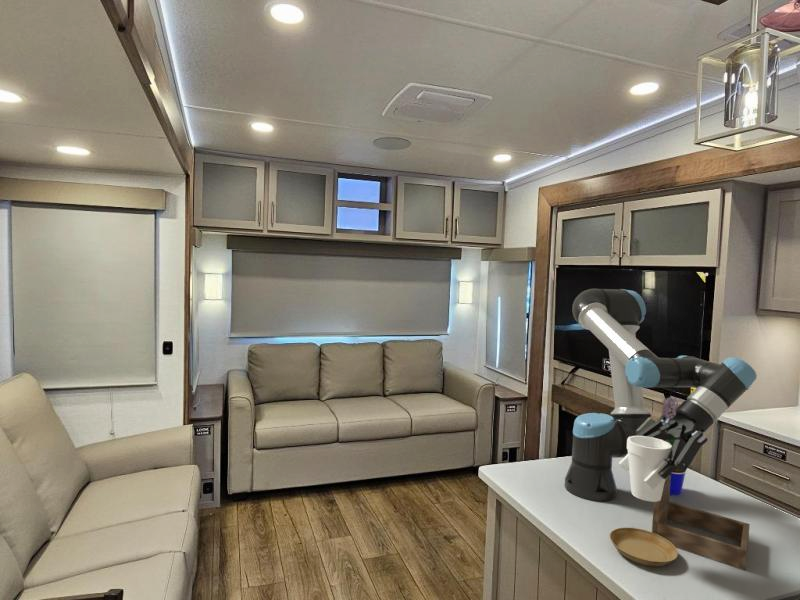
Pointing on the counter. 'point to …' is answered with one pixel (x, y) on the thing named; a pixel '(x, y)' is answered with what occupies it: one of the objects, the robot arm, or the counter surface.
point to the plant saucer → (643, 546)
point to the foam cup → (646, 465)
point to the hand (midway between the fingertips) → (634, 475)
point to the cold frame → (700, 520)
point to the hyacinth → (676, 475)
